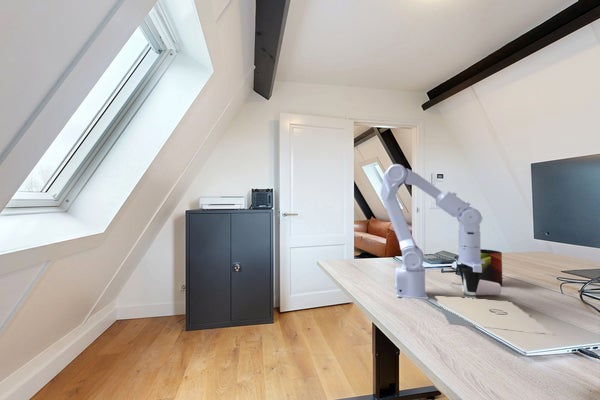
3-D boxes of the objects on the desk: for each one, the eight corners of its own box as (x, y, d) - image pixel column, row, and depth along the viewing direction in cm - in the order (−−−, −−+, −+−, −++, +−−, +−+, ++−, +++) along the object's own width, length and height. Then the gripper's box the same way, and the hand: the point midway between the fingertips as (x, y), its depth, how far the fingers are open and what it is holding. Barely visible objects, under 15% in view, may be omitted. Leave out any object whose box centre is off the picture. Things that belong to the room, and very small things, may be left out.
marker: (465, 298, 81) (464, 271, 81) (461, 294, 84) (461, 269, 84) (478, 299, 80) (477, 272, 80) (474, 295, 83) (473, 269, 83)
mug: (492, 277, 107) (492, 248, 107) (507, 288, 94) (506, 254, 94) (465, 275, 110) (464, 247, 111) (475, 286, 97) (475, 253, 97)
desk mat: (449, 325, 67) (449, 324, 67) (432, 295, 88) (432, 294, 88) (556, 336, 61) (556, 335, 61) (510, 301, 82) (510, 300, 82)
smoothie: (506, 288, 82) (456, 284, 84) (500, 303, 85) (452, 299, 87) (496, 274, 87) (450, 270, 90) (490, 289, 90) (446, 285, 93)
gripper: (494, 250, 74) (494, 299, 74) (475, 242, 88) (476, 283, 88) (465, 249, 76) (465, 297, 76) (452, 242, 90) (452, 282, 90)
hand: (469, 289), depth 82 cm, fingers closed on marker, 3 cm apart
